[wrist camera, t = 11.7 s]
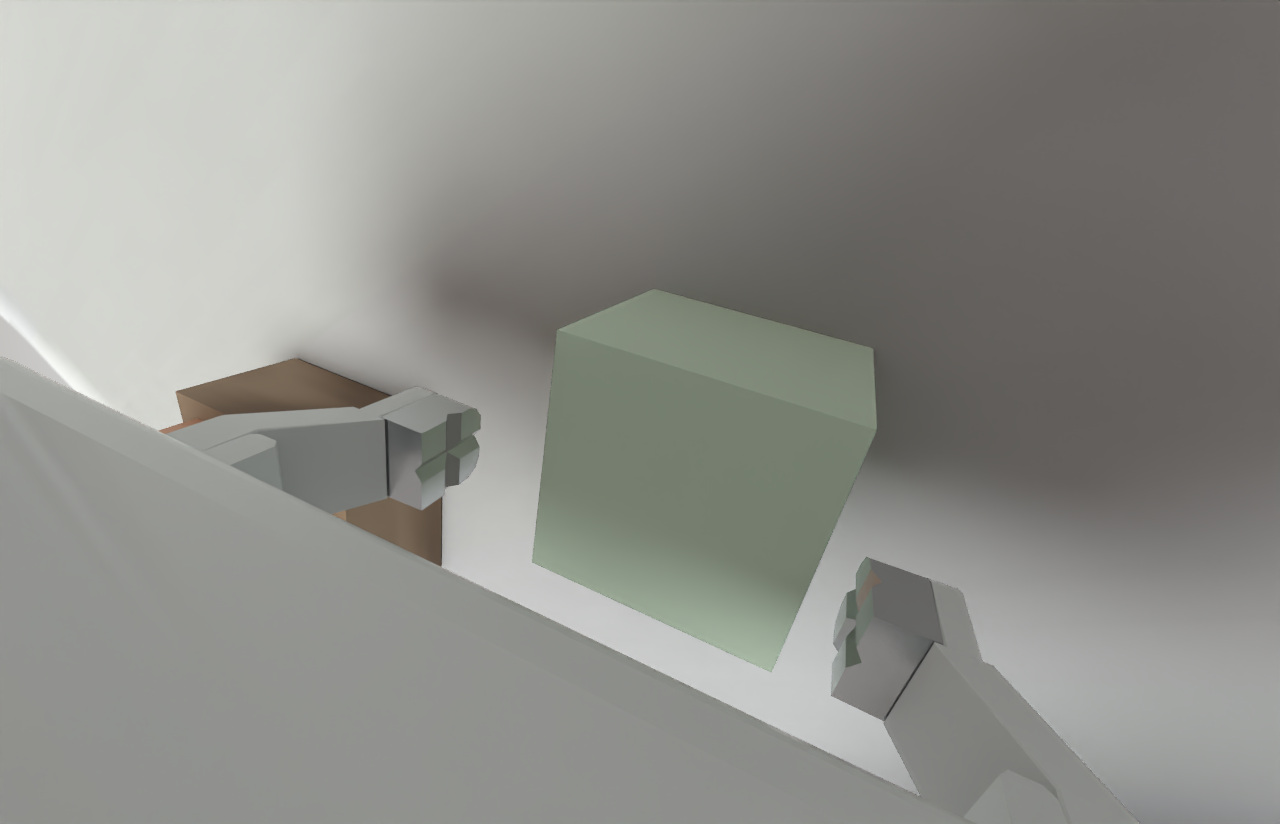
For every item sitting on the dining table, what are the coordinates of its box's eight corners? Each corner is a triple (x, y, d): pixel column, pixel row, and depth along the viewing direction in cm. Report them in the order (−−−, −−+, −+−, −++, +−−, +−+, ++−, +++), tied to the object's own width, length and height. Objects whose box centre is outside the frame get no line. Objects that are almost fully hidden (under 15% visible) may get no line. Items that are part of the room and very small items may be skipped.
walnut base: (442, 416, 18) (341, 467, 14) (441, 566, 21) (357, 638, 18) (295, 358, 20) (175, 391, 16) (314, 503, 23) (216, 557, 19)
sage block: (873, 346, 12) (877, 429, 8) (799, 531, 14) (771, 672, 10) (655, 287, 13) (557, 329, 9) (622, 463, 16) (532, 562, 12)
